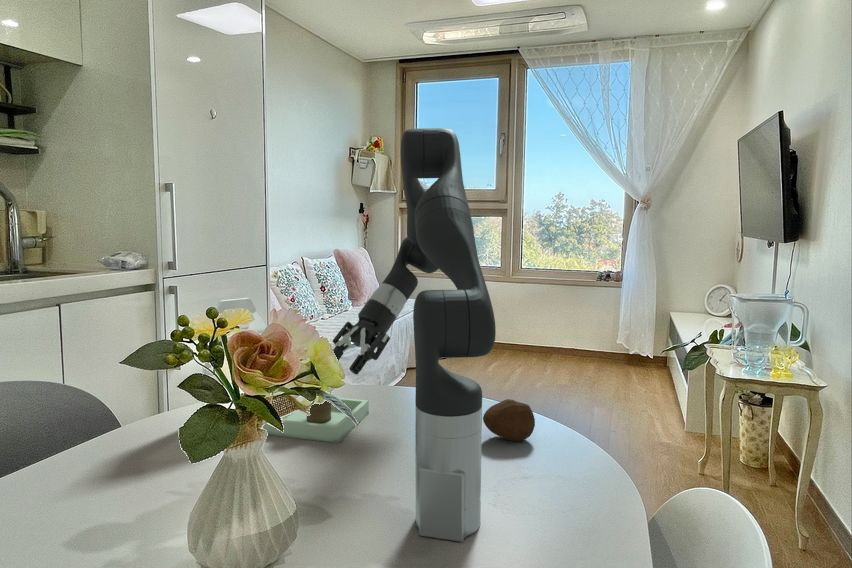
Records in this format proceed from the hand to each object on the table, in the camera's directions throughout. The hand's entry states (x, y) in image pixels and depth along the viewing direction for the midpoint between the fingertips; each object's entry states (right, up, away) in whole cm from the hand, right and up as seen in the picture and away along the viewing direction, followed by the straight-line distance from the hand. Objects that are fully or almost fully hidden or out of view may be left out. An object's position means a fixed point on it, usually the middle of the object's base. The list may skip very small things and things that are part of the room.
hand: (341, 367), depth 118 cm
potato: (+34, -12, -11) cm, 38 cm away
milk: (-21, -11, -2) cm, 24 cm away
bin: (-4, -11, -3) cm, 12 cm away
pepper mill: (-4, -10, -3) cm, 12 cm away
